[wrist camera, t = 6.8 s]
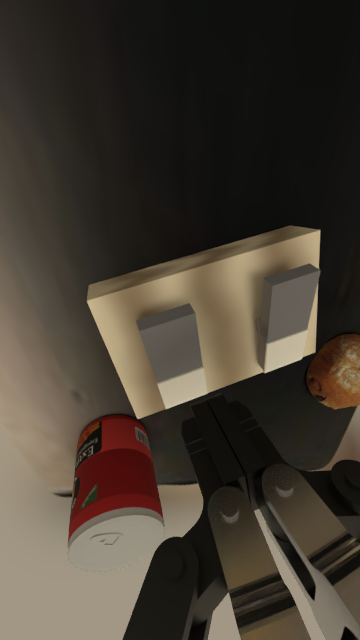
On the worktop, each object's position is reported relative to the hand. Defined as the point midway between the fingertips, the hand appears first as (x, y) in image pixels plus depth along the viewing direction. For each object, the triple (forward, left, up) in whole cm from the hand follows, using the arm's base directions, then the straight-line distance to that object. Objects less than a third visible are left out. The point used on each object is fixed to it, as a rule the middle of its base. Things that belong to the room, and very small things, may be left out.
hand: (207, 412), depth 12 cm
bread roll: (-22, +18, -15) cm, 32 cm away
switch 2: (-10, +3, -10) cm, 15 cm away
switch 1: (0, +3, -10) cm, 11 cm away
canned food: (+9, +15, -15) cm, 24 cm away
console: (-5, +4, -15) cm, 16 cm away
